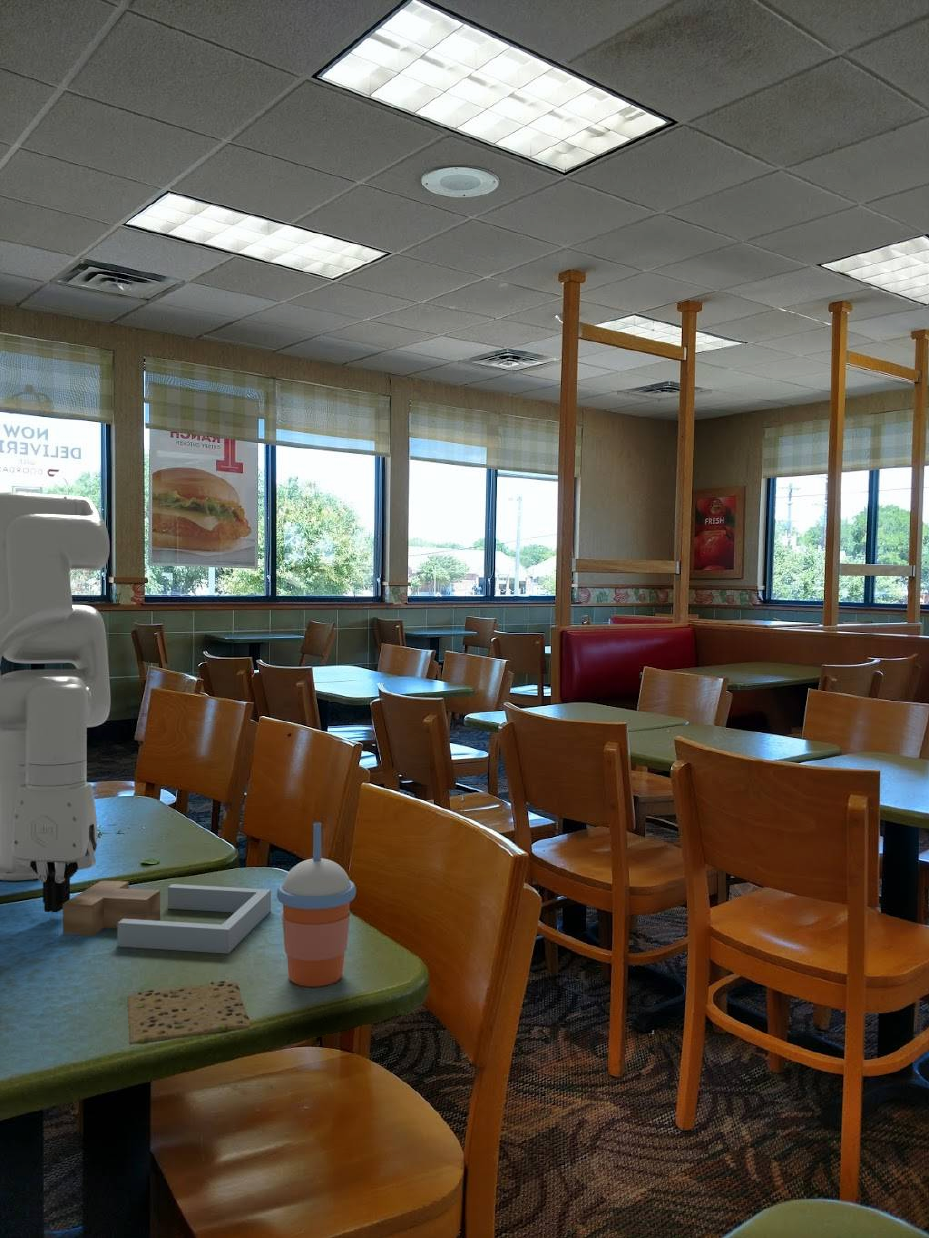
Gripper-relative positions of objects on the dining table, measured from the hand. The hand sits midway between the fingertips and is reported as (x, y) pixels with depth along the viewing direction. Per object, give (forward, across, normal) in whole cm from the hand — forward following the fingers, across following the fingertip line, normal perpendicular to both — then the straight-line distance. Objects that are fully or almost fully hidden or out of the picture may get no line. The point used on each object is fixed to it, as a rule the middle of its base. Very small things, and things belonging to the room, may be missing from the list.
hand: (56, 908), depth 129 cm
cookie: (+2, +29, -24) cm, 37 cm away
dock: (+1, +20, 0) cm, 20 cm away
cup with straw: (+2, +40, -12) cm, 42 cm away
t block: (+1, +9, 0) cm, 9 cm away
